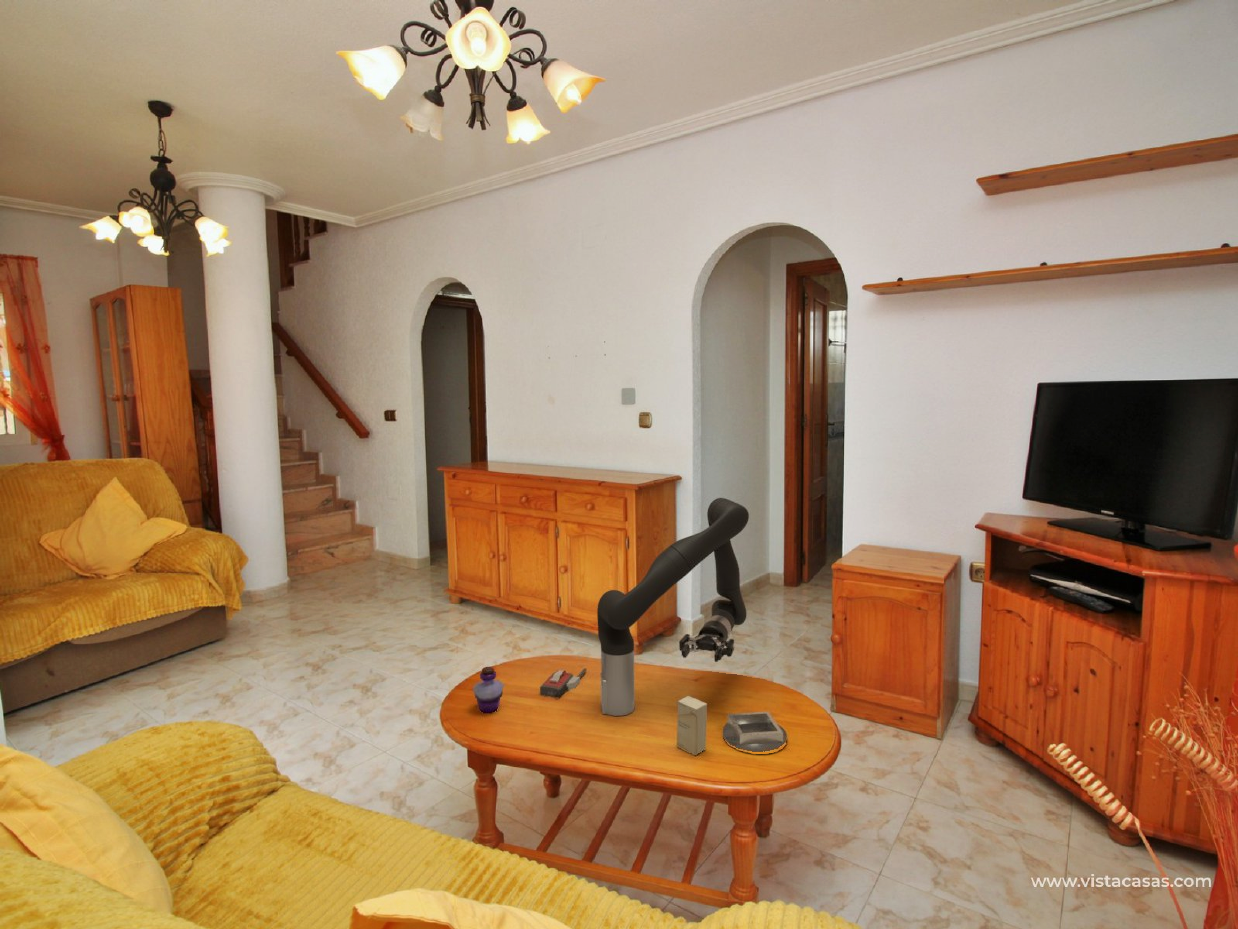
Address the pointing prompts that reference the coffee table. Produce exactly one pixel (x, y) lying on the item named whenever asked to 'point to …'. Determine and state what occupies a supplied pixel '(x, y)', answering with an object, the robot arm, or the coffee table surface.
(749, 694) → the coffee table surface
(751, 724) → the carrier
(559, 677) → the walkie-talkie
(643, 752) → the coffee table surface
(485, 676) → the potion bottle
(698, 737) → the skincare box
